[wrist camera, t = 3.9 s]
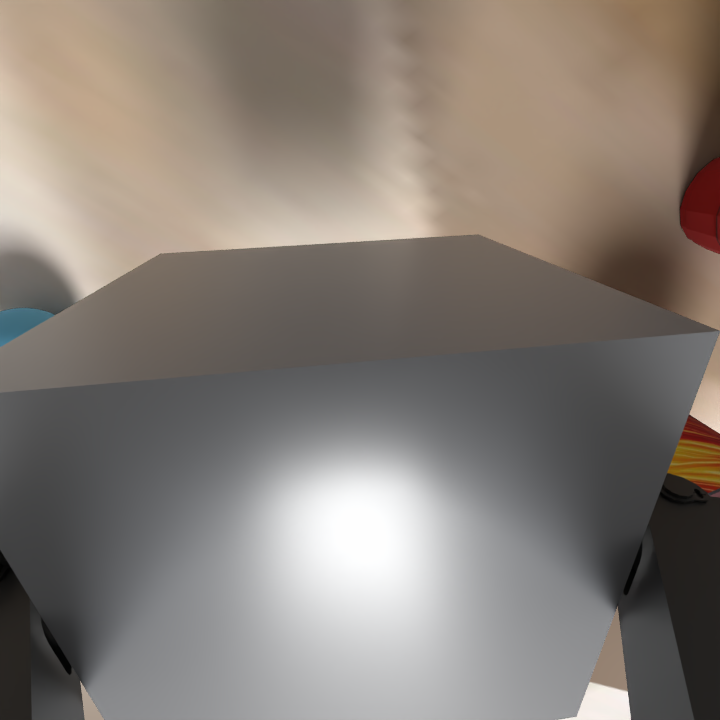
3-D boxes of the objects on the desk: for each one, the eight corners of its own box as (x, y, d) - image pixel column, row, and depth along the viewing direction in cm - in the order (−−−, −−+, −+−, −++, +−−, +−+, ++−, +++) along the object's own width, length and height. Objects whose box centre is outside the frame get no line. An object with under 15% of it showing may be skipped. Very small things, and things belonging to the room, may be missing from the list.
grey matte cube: (160, 253, 13) (-92, 400, 5) (478, 234, 13) (719, 330, 6) (222, 500, 17) (146, 788, 9) (458, 473, 18) (576, 716, 10)
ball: (-7, 300, 24) (-80, 329, 19) (82, 294, 24) (30, 321, 20) (26, 375, 26) (-34, 417, 22) (107, 369, 26) (66, 408, 22)
